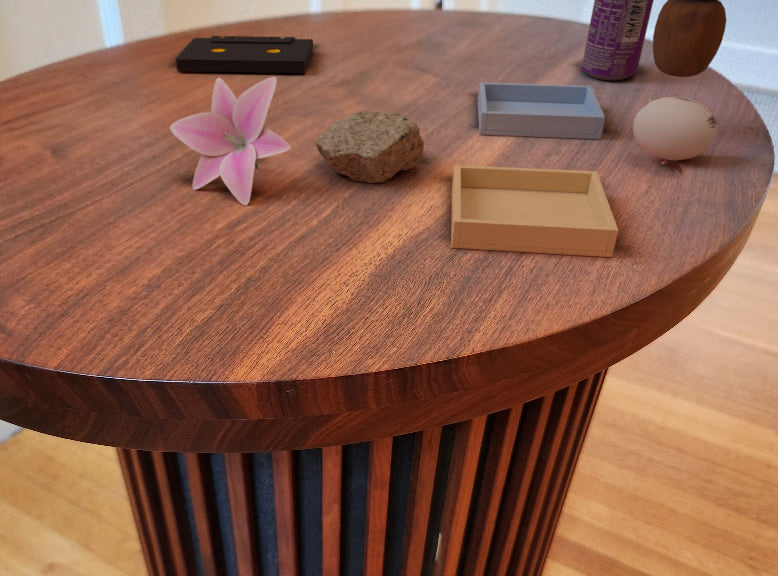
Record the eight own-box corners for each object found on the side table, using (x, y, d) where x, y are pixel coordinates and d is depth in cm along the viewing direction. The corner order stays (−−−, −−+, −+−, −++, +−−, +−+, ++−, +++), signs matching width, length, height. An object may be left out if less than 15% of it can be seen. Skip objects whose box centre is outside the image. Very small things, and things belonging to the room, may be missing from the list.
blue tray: (587, 106, 94) (591, 85, 93) (600, 139, 85) (605, 117, 84) (477, 102, 96) (479, 82, 94) (479, 134, 87) (482, 112, 86)
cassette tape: (313, 52, 115) (313, 37, 114) (304, 75, 106) (304, 58, 105) (195, 50, 117) (193, 35, 115) (176, 73, 108) (174, 57, 106)
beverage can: (641, 72, 105) (664, -26, 98) (627, 86, 100) (651, -16, 93) (588, 64, 108) (607, -31, 101) (573, 78, 103) (592, -21, 96)
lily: (172, 175, 82) (140, 111, 73) (261, 113, 83) (239, 43, 74) (235, 246, 77) (208, 186, 68) (328, 178, 78) (313, 111, 69)
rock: (368, 117, 84) (405, 68, 77) (410, 182, 83) (451, 138, 76) (297, 142, 79) (330, 92, 72) (340, 211, 78) (378, 167, 71)
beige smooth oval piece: (715, 165, 79) (735, 99, 75) (690, 183, 76) (711, 115, 72) (640, 146, 84) (656, 83, 79) (614, 162, 80) (629, 96, 76)
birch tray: (591, 196, 74) (597, 171, 72) (612, 257, 64) (618, 230, 63) (451, 189, 75) (454, 164, 74) (451, 248, 66) (454, 221, 64)
